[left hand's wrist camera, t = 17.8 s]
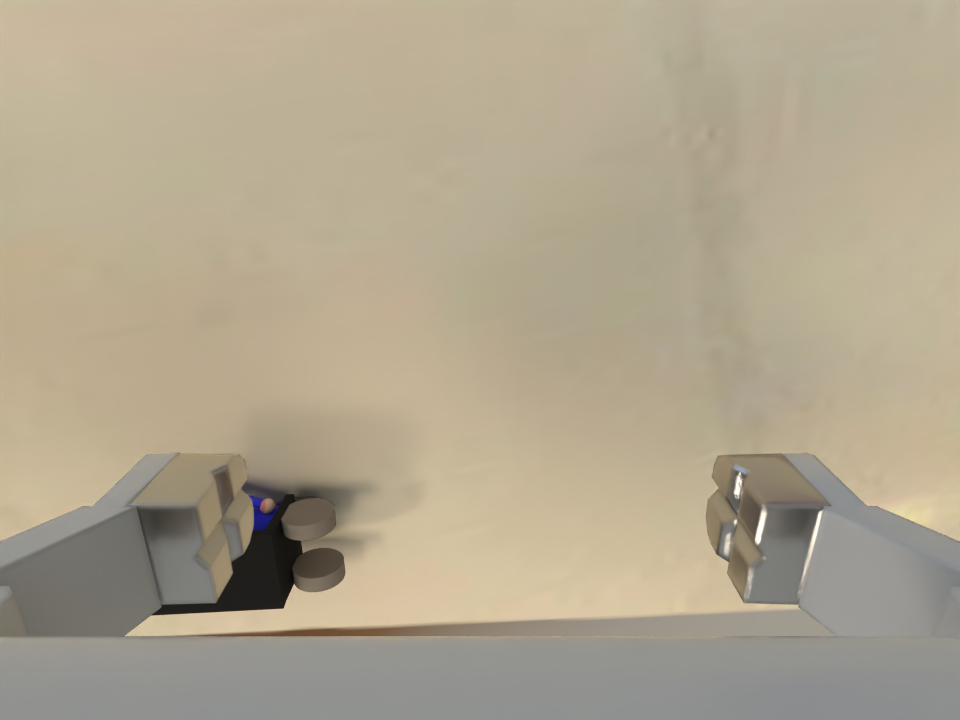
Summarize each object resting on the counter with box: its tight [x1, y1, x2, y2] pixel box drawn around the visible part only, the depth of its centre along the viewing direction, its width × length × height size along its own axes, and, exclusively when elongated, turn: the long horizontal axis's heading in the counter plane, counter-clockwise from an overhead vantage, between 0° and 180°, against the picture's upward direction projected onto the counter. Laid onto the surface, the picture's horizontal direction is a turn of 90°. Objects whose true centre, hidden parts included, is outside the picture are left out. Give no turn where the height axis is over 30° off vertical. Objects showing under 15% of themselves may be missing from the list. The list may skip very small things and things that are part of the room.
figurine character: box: [152, 494, 345, 615], centre depth 42 cm, size 7×8×15 cm
